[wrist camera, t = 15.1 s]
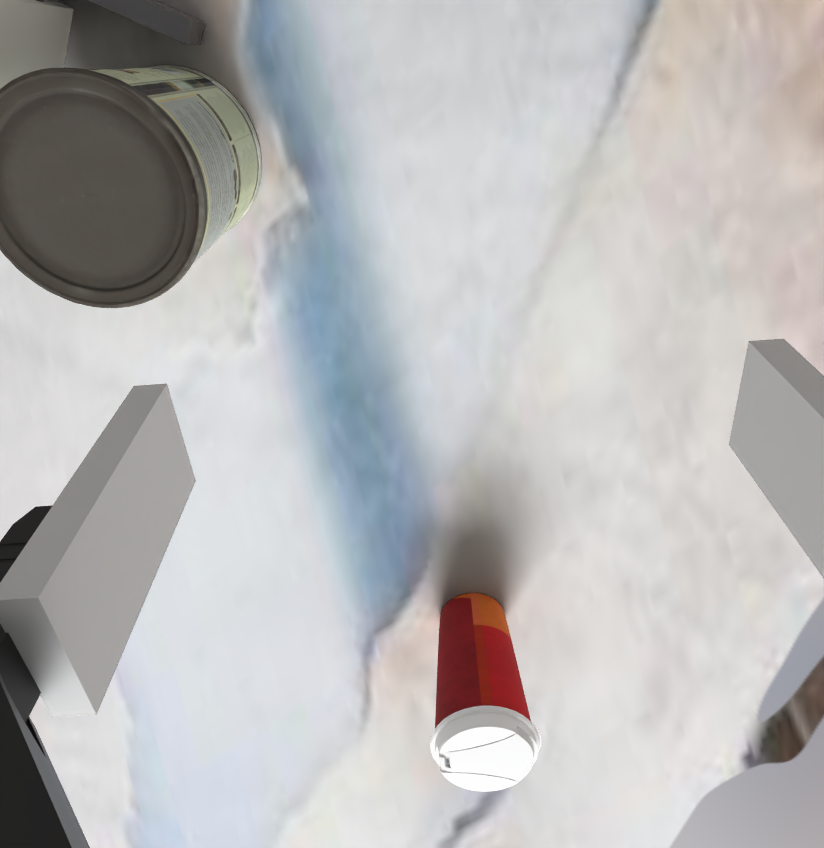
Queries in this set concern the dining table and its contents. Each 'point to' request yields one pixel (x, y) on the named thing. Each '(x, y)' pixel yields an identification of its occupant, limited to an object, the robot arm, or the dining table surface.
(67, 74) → the coffee can
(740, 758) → the dining table surface
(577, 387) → the dining table surface
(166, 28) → the frame
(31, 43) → the pressure pad
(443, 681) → the paper cup
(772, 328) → the dining table surface
